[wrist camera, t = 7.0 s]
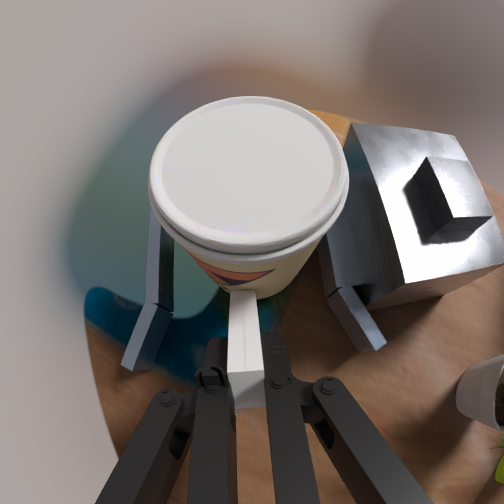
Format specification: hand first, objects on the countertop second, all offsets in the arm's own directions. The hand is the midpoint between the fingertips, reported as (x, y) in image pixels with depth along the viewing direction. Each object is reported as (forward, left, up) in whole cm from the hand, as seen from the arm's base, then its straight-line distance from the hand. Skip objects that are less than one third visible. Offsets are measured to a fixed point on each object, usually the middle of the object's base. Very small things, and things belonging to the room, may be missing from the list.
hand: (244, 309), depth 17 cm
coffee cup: (-3, -4, -4) cm, 7 cm away
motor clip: (-6, -2, -4) cm, 7 cm away
